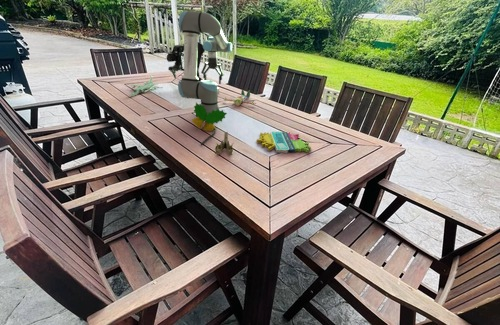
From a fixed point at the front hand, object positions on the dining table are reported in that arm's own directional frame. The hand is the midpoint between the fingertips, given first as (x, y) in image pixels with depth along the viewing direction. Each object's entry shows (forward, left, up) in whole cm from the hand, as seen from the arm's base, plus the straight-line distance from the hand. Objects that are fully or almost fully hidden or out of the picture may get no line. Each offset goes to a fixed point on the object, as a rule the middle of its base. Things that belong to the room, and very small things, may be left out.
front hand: (212, 82), depth 230 cm
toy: (-24, -21, -10) cm, 33 cm away
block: (+4, -4, -10) cm, 11 cm away
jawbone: (-113, +10, -10) cm, 114 cm away
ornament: (-80, +14, -10) cm, 82 cm away
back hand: (+17, +27, -1) cm, 32 cm away
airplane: (+11, +58, -10) cm, 60 cm away
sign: (-107, -25, -10) cm, 111 cm away
